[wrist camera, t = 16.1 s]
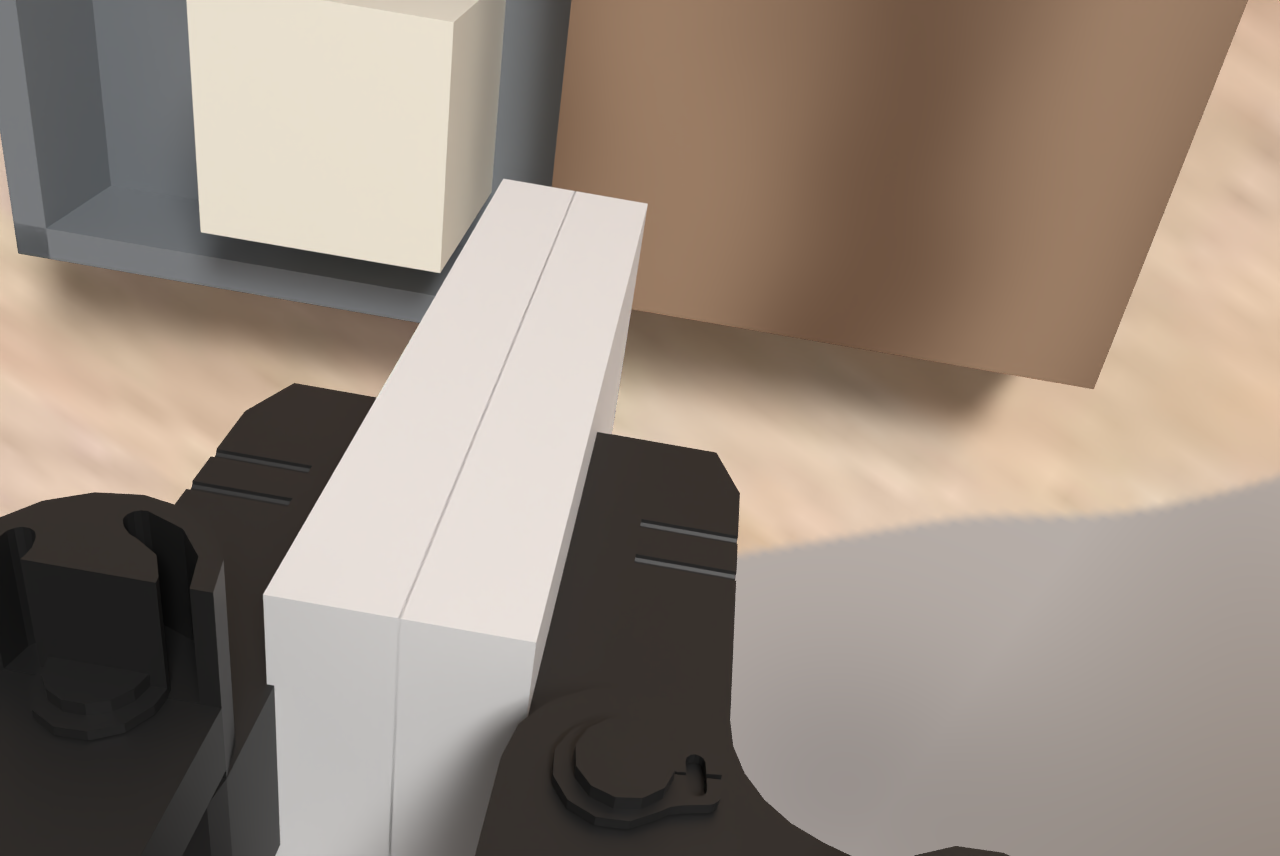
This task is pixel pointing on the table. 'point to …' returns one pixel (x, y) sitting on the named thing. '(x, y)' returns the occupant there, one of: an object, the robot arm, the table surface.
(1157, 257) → the table surface
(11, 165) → the tray
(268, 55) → the ivory block
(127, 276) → the table surface
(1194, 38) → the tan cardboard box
